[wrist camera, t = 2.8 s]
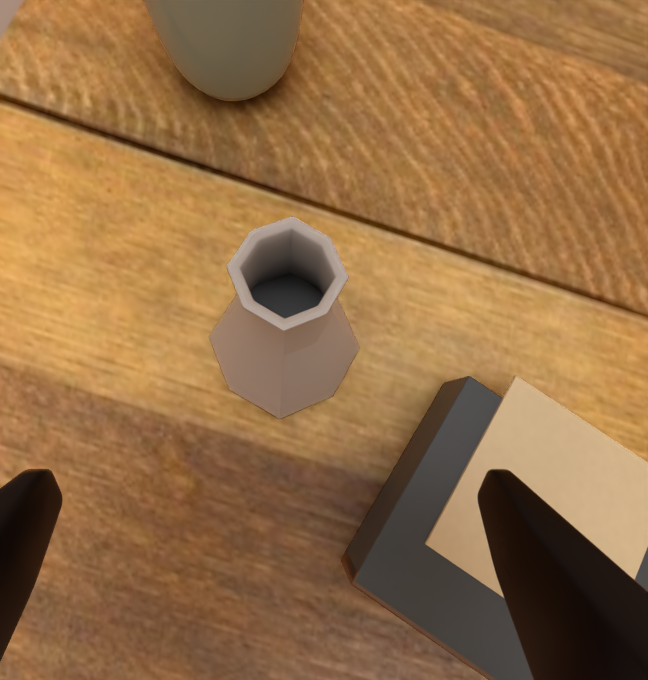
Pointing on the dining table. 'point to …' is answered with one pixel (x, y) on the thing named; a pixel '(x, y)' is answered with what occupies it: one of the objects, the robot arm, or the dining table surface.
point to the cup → (228, 42)
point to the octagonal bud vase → (285, 319)
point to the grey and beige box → (466, 522)
